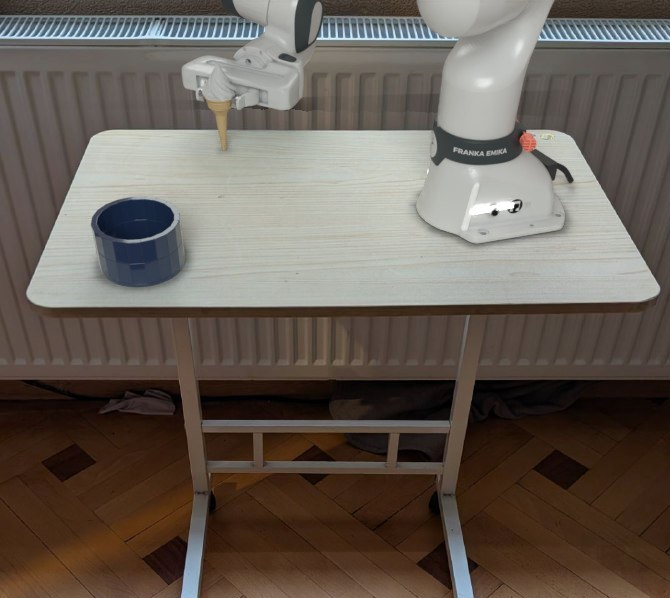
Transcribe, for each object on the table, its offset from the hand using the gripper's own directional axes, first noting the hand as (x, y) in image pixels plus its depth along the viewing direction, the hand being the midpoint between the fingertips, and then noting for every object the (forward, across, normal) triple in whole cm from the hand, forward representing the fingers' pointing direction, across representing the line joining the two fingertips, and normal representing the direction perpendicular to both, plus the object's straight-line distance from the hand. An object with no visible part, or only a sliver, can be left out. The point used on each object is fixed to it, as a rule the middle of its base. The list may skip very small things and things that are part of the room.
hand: (217, 100), depth 133 cm
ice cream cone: (-1, 0, +9) cm, 9 cm away
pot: (+33, +6, +9) cm, 35 cm away
